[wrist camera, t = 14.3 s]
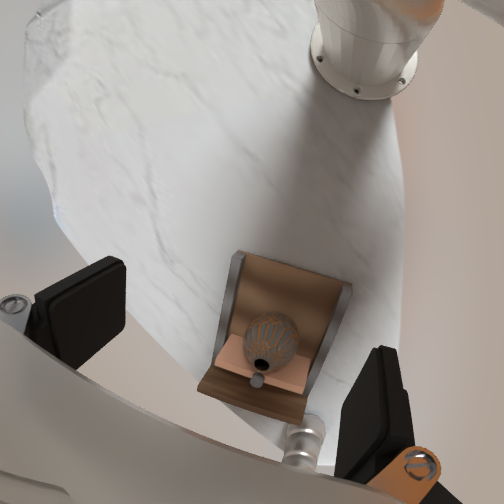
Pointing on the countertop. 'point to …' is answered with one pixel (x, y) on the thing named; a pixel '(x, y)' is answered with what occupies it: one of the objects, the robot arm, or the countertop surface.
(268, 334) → the vase
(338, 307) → the pusher lane
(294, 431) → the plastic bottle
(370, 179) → the countertop surface
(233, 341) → the pusher plate
